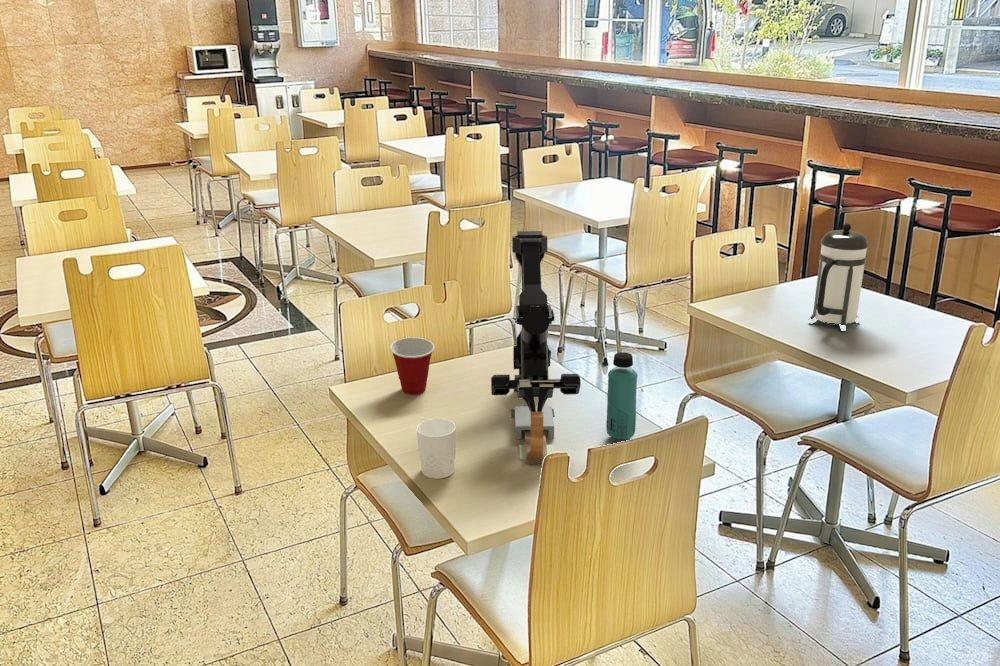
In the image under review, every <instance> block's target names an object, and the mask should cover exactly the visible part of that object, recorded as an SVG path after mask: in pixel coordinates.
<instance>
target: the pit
mask: <svg viewBox="0 0 1000 666" xmlns="http://www.w3.org/2000/svg"><path fill="white" fill-rule="evenodd" d="M552 413H553V418H555V417H556V416H555V410H554V408H552ZM510 418H513V419H515V408H511V409H510Z"/></svg>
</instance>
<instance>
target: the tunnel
mask: <svg viewBox="0 0 1000 666" xmlns="http://www.w3.org/2000/svg"><path fill="white" fill-rule="evenodd" d="M537 406H538V405H535V408H536V412H537ZM514 409H515V418H514V428H515V429H514V430H515V431H514V432H515V440H522V431H524V430H531V413H530V410H529V407H528V405H525V406H524V405H522V406H521V405H520V406H519V405H518V406H517V405H516V406H514ZM552 409H553V408H552V405H544V406H543V409H542V412H543V430H545V431H546V430H547V437H548V440H549V439H550V440H554V439H555V420H554V417H553V413H552Z"/></svg>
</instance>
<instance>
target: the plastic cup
mask: <svg viewBox="0 0 1000 666" xmlns="http://www.w3.org/2000/svg"><path fill="white" fill-rule="evenodd" d="M435 346H436V345H435V344H434V343H433V342H432V341H431V340H429V339H426V338H422V337H414V336H413V337H411V336H409V337H403V338H399V339H397V340H394V341H392V343H391V344H390V346H389V350H390V351H391V352H392V356H393V359H394V363H395V367H396V371H397V375H398V379H399V381H400V382H399V383H400V386H401V389H402V392H403V393H404V394H407V395H421V394H422V393H424V392H425V391H426V389H427V382H428V377H429V371H430V370H429V369H430V363H431V357H432V354H433V352H434V350H435Z"/></svg>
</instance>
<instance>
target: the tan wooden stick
mask: <svg viewBox="0 0 1000 666" xmlns="http://www.w3.org/2000/svg"><path fill="white" fill-rule="evenodd" d="M523 431H524V445H525V447H526V464H543V463H542V461H543V459H544V457H545V456H546V455H547V446H546V445H547V441H546V440H547V439H546V430H543V412H531V430H523Z"/></svg>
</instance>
